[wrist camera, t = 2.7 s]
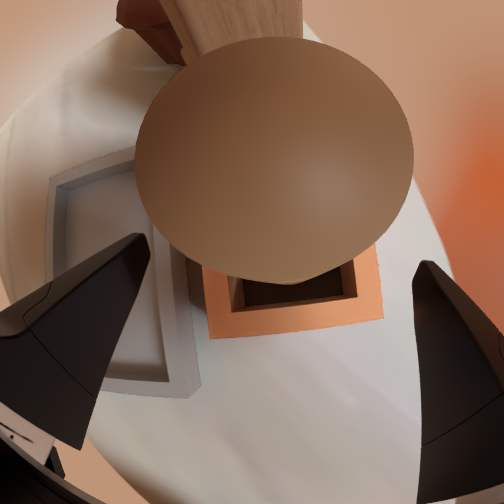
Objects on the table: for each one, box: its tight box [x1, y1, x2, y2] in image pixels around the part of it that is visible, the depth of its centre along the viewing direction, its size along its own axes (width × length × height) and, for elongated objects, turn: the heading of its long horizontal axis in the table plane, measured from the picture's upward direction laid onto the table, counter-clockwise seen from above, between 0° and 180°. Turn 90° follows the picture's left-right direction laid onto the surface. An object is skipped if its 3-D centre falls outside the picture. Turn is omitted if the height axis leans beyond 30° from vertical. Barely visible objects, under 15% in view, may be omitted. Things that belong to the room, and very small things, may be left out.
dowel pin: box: [134, 37, 414, 285], centre depth 10 cm, size 4×4×14 cm
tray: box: [45, 146, 201, 399], centre depth 18 cm, size 16×11×2 cm
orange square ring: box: [202, 243, 384, 339], centre depth 15 cm, size 8×8×4 cm
